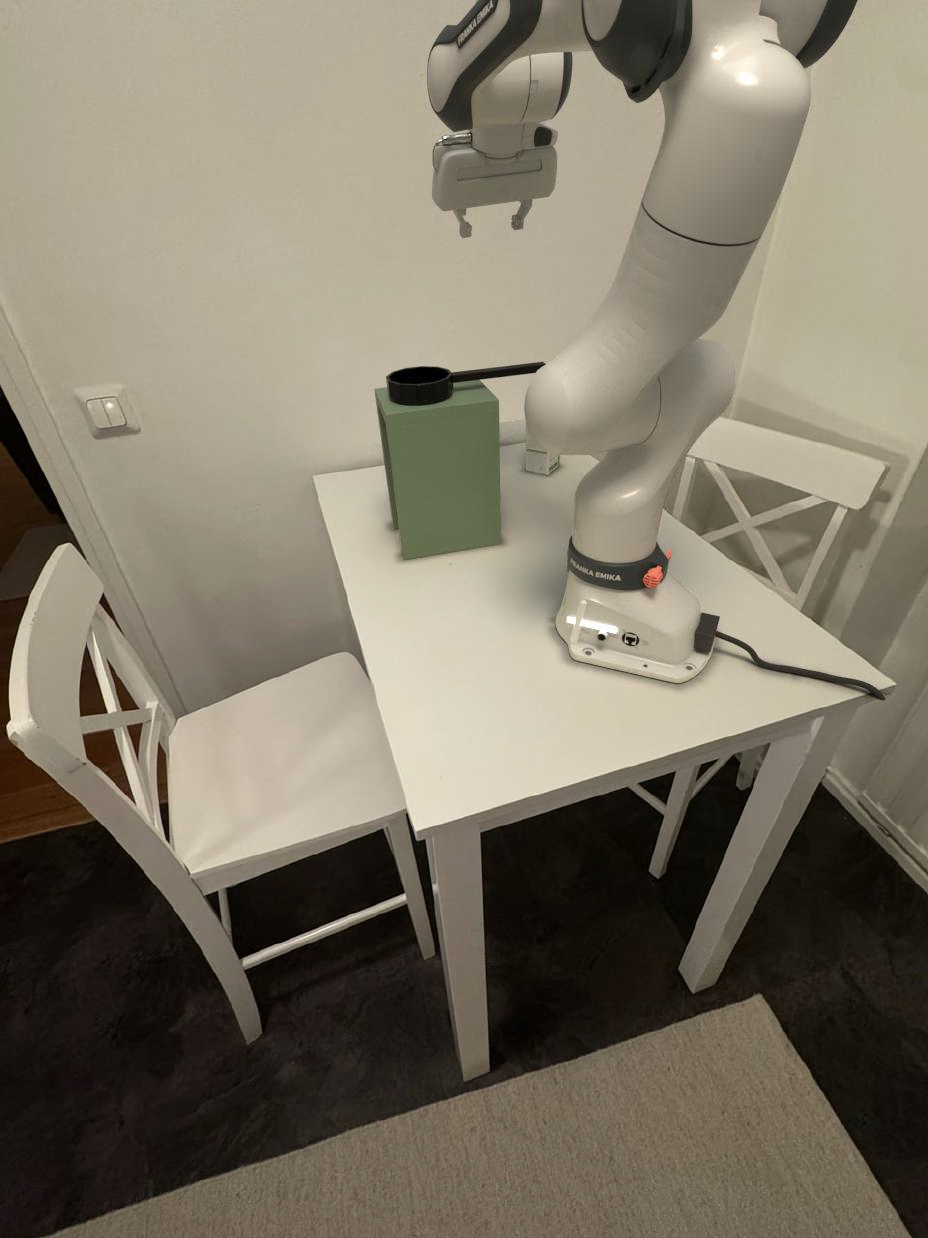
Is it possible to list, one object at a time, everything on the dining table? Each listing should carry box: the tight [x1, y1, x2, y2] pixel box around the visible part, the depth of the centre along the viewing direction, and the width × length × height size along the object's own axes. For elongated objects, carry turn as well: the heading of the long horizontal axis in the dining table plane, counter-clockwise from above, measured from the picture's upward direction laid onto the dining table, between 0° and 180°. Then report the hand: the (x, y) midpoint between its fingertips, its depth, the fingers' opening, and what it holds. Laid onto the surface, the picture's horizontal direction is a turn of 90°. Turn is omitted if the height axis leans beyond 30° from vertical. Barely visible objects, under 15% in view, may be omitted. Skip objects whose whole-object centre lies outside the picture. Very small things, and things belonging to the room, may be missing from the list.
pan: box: [385, 361, 547, 406], centre depth 99 cm, size 26×10×3 cm, turn 104°
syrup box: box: [525, 422, 561, 476], centre depth 132 cm, size 6×6×14 cm
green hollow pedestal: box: [373, 380, 502, 561], centre depth 107 cm, size 18×14×26 cm
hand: (491, 232), depth 101 cm, fingers open, 8 cm apart
